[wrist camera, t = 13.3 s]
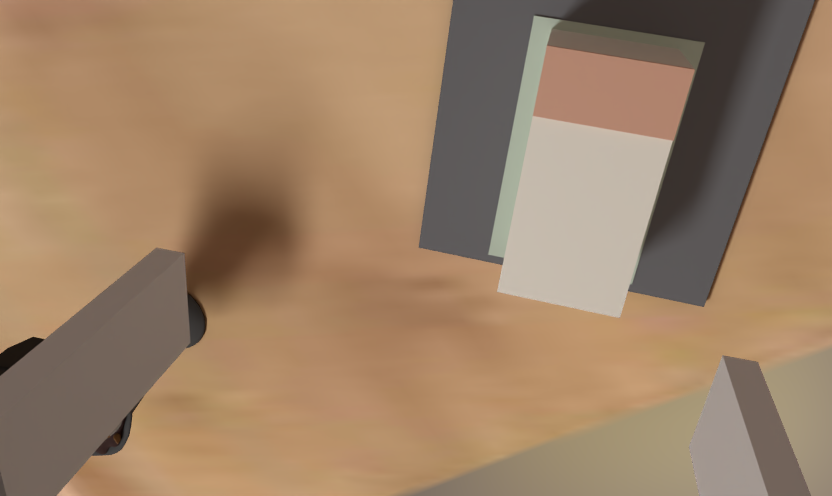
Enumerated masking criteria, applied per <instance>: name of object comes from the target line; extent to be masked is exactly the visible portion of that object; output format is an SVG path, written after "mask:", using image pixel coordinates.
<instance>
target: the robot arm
mask: <svg viewBox="0 0 832 496" xmlns="http://www.w3.org/2000/svg"><path fill="white" fill-rule="evenodd" d="M189 344H190V329H189V314H188V299H187V284H186V269H185V255H184V253H181V252H176V251H171V250H166V249H160V248H155V249H154V250H153V251H152V252H151V253H149V254H148V255H147V256H146V257H145V258H143V259H142V260H141V261H140V262H138V263H137V264H136V265H135V266H134V267H132V268H131V269H130V270H129V271H127V272H126V273H125V274H124V275H123V276H121V277H120V278H119V279H118V280H117V281H115V282H114V283H113V284H112V285H110V286H109V287H108V288H107V289H106V290H104V291H103V292H102V293H101V294H99V295H98V296H97V297H96V298H95V299H93V300H92V301H91V302H90V303H89V304H87V305H86V306H85V307H84V308H82V309H81V310H80V311H79V312H78V313H76V314H75V315H74V316H73V317H71V318H70V319H69V320H68V321H67V322H65V323H64V324H63V325H62V326H61V327H59V328H58V329H57V330H56V331H54V332H53V333H52V334H51V335H50V336H48V337H47V338H46V339H41V338H36V337H32V338H29V339H27V340H25V341H23V342H21V343H18V344H16V345H14V346H12V347H9V348H7V349H6V350H5V351H4V352H2V353H1V354H0V496H56V495H57V494H58V493H59V492H60V491H61V490H62V489H63V487H64V486H65V485H66V484H67V483H68V482H69V481H70V479H71V478H72V477H73V476H74V475H75V474H76V473H77V471H78V470H79V469H80V468H81V467H82V466H83V465H84V463H85V462H86V461H87V460H88V459H89V458H90V457H91V455H92V454H93V453H94V452H95V451H96V450H97V449H98V448H99V446H100V445H101V444H102V443H103V442H104V441H105V440H106V438H107V437H108V436H109V435H110V434H111V433H112V432H113V430H114V429H115V428H116V427H117V426H118V425H119V424H120V422H121V421H122V420H123V419H124V418H125V417H126V416H127V414H128V413H129V412H130V411H131V410H132V409H133V408H134V406H135V405H136V404H137V403H138V402H139V401H140V400H141V398H142V397H143V396H144V395H145V394H146V393H147V392H148V390H149V389H150V388H151V387H152V386H153V385H154V384H155V382H156V381H157V380H158V379H159V378H160V377H161V376H162V374H163V373H164V372H165V371H166V370H167V369H168V368H169V367H170V365H171V364H172V363H173V362H174V361H175V360H176V359H177V357H178V356H179V355H180V354H181V353H182V352H183V351H184V349H185V348H186V347H187V346H188V345H189ZM689 449H690V453H691V458H692V463H693V468H694V472H695V477H696V482H697V487H698V492H699V496H811V495H810V492H809V490H808V487H807V484H806V482H805V479H804V477H803V474H802V472H801V469H800V467H799V464H798V462H797V459H796V457H795V454H794V452H793V449H792V447H791V444H790V442H789V439H788V437H787V434H786V432H785V429H784V427H783V424H782V421H781V419H780V417H779V414H778V412H777V409H776V406H775V404H774V401H773V399H772V397H771V394H770V391H769V389H768V386H767V384H766V381H765V379H764V376H763V374H762V371H761V369H760V366H759V364H758V362H755V361H750V360H745V359H739V358H734V357H729V356H724V355H723V356H722V358H721V361H720V364H719V366H718V369H717V372H716V375H715V377H714V380H713V383H712V386H711V388H710V391H709V394H708V396H707V399H706V402H705V405H704V407H703V410H702V413H701V416H700V418H699V421H698V424H697V427H696V429H695V432H694V435H693V437H692V440H691V443H690V446H689Z"/></svg>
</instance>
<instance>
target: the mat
mask: <svg viewBox="0 0 832 496" xmlns="http://www.w3.org/2000/svg"><path fill="white" fill-rule="evenodd" d="M814 1H815V0H453V6H452V14H451V21H450V28H449V35H448V42H447V49H446V56H445V64H444V71H443V78H442V85H441V92H440V99H439V106H438V114H437V121H436V128H435V135H434V142H433V149H432V156H431V164H430V171H429V178H428V185H427V192H426V199H425V206H424V214H423V221H422V228H421V235H420V242H419V248H424V249H429V250H434V251H438V252H443V253H448V254H453V255H458V256H462V257H467V258H472V259H477V260H482V261H486V262H491V263H496V264H501V265H503V261H504V256H505V251H506V246H507V241H508V236H509V231H510V226H511V221H512V216H513V211H514V206H515V201H516V196H517V191H518V186H519V182H520V177H521V172H522V167H523V162H524V157H525V152H526V147H527V142H528V137H529V132H530V127H531V122H532V117H533V112H534V107H535V102H536V97H537V92H538V87H539V82H540V77H541V72H542V67H543V62H544V57H545V52H546V47H547V43H548V40H549V36H550V33H551V29H557V30H563V31H569V32H576V33H582V34H588V35H595V36H601V37H607V38H613V39H620V40H626V41H632V42H639V43H645V44H651V45H658V46H664V47H670V48H677V49H679V50H680V51H681V52H682V53H683V55H684V56H685V57H686V59H687V60H688V61H689V62H690V64H691V65H692V66H693V68H694V69H695V72H694V75H693V78H692V82H691V85H690V88H689V92H688V95H687V98H686V102H685V105H684V108H683V112H682V115H681V118H680V122H679V125H678V128H677V132H676V135H675V138H674V141H673V142H672V145H671V148H670V152H669V155H668V158H667V162H666V165H665V169H664V172H663V175H662V179H661V182H660V185H659V189H658V192H657V195H656V199H655V202H654V205H653V209H652V212H651V215H650V219H649V222H648V225H647V229H646V232H645V235H644V239H643V242H642V245H641V249H640V252H639V255H638V259H637V262H636V265H635V269H634V272H633V275H632V279H631V282H630V285H629V289H628V291H630V292H635V293H640V294H645V295H649V296H654V297H659V298H664V299H669V300H673V301H678V302H683V303H688V304H693V305H697V306H702V307H704V305H705V302H706V299H707V297H708V294H709V291H710V288H711V286H712V283H713V280H714V277H715V274H716V272H717V269H718V266H719V263H720V261H721V258H722V255H723V252H724V250H725V247H726V244H727V241H728V239H729V236H730V233H731V230H732V228H733V225H734V222H735V219H736V217H737V214H738V211H739V208H740V205H741V203H742V200H743V197H744V194H745V192H746V189H747V186H748V183H749V181H750V178H751V175H752V172H753V170H754V167H755V164H756V161H757V159H758V156H759V153H760V150H761V147H762V145H763V142H764V139H765V136H766V134H767V131H768V128H769V125H770V123H771V120H772V117H773V114H774V112H775V109H776V106H777V103H778V101H779V98H780V95H781V92H782V89H783V87H784V84H785V81H786V78H787V76H788V73H789V70H790V67H791V65H792V62H793V59H794V56H795V54H796V51H797V48H798V45H799V43H800V40H801V37H802V34H803V31H804V29H805V26H806V23H807V20H808V18H809V15H810V12H811V9H812V7H813V4H814Z"/></svg>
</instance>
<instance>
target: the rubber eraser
mask: <svg viewBox="0 0 832 496" xmlns="http://www.w3.org/2000/svg"><path fill="white" fill-rule="evenodd" d="M694 72H695V69H694V68H693V66H692V65H691V64H690V62H689V61H688V60H687V59H686V57H685V56H684V55H683V53H682V52H681V51H680V50H679V49H677V48H670V47H664V46H658V45H651V44H645V43H639V42H632V41H626V40H620V39H613V38H607V37H601V36H595V35H588V34H582V33H576V32H569V31H563V30H557V29H551V33H550V36H549V40H548V43H547V47H546V52H545V57H544V62H543V67H542V72H541V77H540V82H539V87H538V92H537V97H536V102H535V107H534V112H533V117H532V122H531V127H530V132H529V137H528V142H527V147H526V152H525V157H524V162H523V167H522V172H521V177H520V182H519V186H518V191H517V196H516V201H515V206H514V211H513V216H512V221H511V226H510V231H509V236H508V241H507V246H506V251H505V256H504V261H503V266H502V271H501V276H500V281H499V286H498V290H497V292H501V293H505V294H510V295H515V296H519V297H524V298H529V299H533V300H538V301H543V302H547V303H552V304H557V305H562V306H566V307H571V308H576V309H580V310H585V311H590V312H594V313H599V314H604V315H609V316H613V317H618V318H620V315H621V312H622V309H623V305H624V302H625V299H626V295H627V292H628V289H629V285H630V282H631V279H632V275H633V272H634V269H635V265H636V262H637V259H638V255H639V252H640V249H641V245H642V242H643V239H644V235H645V232H646V229H647V225H648V222H649V219H650V215H651V212H652V209H653V205H654V202H655V199H656V195H657V192H658V189H659V185H660V182H661V179H662V175H663V172H664V169H665V165H666V162H667V158H668V155H669V152H670V148H671V145H672V142H673V141H674V138H675V135H676V132H677V128H678V125H679V122H680V118H681V115H682V112H683V108H684V105H685V102H686V98H687V95H688V92H689V88H690V85H691V82H692V78H693V75H694Z"/></svg>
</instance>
